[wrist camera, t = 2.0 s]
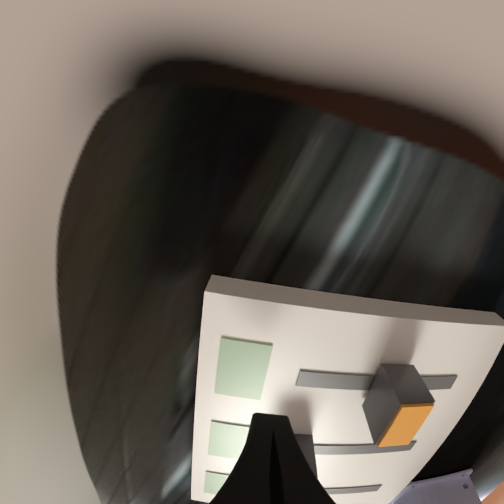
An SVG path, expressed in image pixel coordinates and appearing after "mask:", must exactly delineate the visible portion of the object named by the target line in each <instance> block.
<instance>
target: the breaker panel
mask: <svg viewBox="0 0 504 504" xmlns="http://www.w3.org/2000/svg"><path fill="white" fill-rule="evenodd" d="M503 343H504V320H503V319H502V318H501V317H500V316H498V315H497V314H496V313H495V312H487V311H477V310H467V309H457V308H448V307H439V306H430V305H422V304H413V303H405V302H397V301H389V300H381V299H373V298H365V297H358V296H350V295H343V294H336V293H329V292H321V291H314V290H307V289H301V288H294V287H287V286H280V285H274V284H267V283H261V282H254V281H248V280H242V279H235V278H229V277H223V276H217V275H211V278H210V280H209V282H208V284H207V287H206V289H205V291H204V300H203V311H202V321H201V333H200V344H199V357H198V370H197V383H196V398H195V415H194V433H193V455H192V483H191V500H196V501H202V502H208V503H210V502H211V500H212V499H213V498H214V496H215V495H216V494H217V492H218V491H219V490H220V488H221V487H222V486H223V484H224V483H225V481H226V479H227V478H228V476H229V475H230V473H231V471H232V470H233V468H234V466H235V464H236V462H237V460H238V458H239V457H240V455H241V453H242V450H243V448H244V445H245V443H246V439H247V435H248V431H249V427H250V423H251V419H252V415H253V414H254V413H256V412H257V413H265V414H275V415H286V416H288V418H289V420H290V423H291V426H292V429H293V432H294V434H295V437H296V439H297V441H298V444H299V446H300V448H301V450H302V452H303V454H304V456H305V458H306V460H307V462H308V464H309V465H310V467H311V469H312V471H313V472H314V474H315V476H316V477H317V479H318V480H319V482H320V483H321V485H322V486H323V487H324V489H325V490H326V492H327V493H328V494H329V495H330V497H331V498H332V499H333V500H334V502H335V503H336V504H389V503H390V502H391V501H392V500H393V499H394V498H395V497H396V496H397V495H398V494H399V493H400V492H401V491H402V490H403V489H404V488H405V487H406V486H407V485H408V484H409V483H410V482H411V480H412V479H413V478H414V477H415V476H416V475H417V474H418V473H419V471H420V470H421V469H422V468H423V467H424V466H425V464H426V463H427V462H428V461H429V460H430V458H431V457H432V456H433V455H434V453H435V452H436V451H437V450H438V448H439V447H440V446H441V444H442V443H443V442H444V440H445V439H446V438H447V436H448V435H449V434H450V432H451V431H452V430H453V428H454V427H455V425H456V424H457V422H458V421H459V419H460V418H461V417H462V415H463V414H464V412H465V411H466V409H467V407H468V406H469V404H470V403H471V401H472V400H473V398H474V396H475V395H476V393H477V391H478V390H479V388H480V386H481V385H482V383H483V381H484V379H485V378H486V376H487V374H488V372H489V370H490V369H491V367H492V365H493V363H494V361H495V359H496V357H497V355H498V353H499V351H500V349H501V347H502V345H503ZM381 364H408V365H414V366H415V368H416V369H417V371H418V373H419V374H420V376H421V378H422V379H423V381H424V383H425V384H426V386H427V388H428V389H429V391H430V393H431V395H432V396H433V398H434V400H435V403H434V407H433V409H432V410H431V412H430V413H429V415H428V417H427V418H426V420H425V421H424V423H423V424H422V426H421V427H420V429H419V430H418V432H417V433H416V435H415V436H414V438H413V439H412V440H411V442H410V443H409V445H399V446H387V447H378V446H377V445H374V443H373V439H372V436H371V433H370V430H369V426H368V423H367V420H366V417H365V414H364V411H363V408H362V404H363V402H364V400H365V398H366V396H367V394H368V392H369V390H370V388H371V386H372V383H373V381H374V379H375V377H376V375H377V372H378V370H379V368H380V366H381Z"/></svg>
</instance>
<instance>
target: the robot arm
mask: <svg viewBox="0 0 504 504" xmlns="http://www.w3.org/2000/svg"><path fill="white" fill-rule="evenodd" d="M471 473H472V469H468V470H464V471H460V472H456V473H452V474H448V475H444V476H440V477H435V478H431V479H426V480H420V481H415V482H410V483H409V484H408V485H407V486H406V487H405V488H404V489H403V490H402V491H401V492H400V493H399V494H398V495H397V496H396V497H395V498H394V499H393V500H392V501H391V502H390V503H389V504H481V501H480V499H479V497H478V494H477V492H476V490H475V488H474V485H473V483H472V481H471V479H470V477H469V475H470V474H471ZM209 504H336V503H335V502H334V500H333V499H332V498H331V497H330V495H329V494H328V493H327V492H326V490H325V489H324V487H323V486H322V485H321V483H320V482H319V480H318V479H317V477H316V476H315V474H314V472H313V471H312V469H311V467H310V465H309V464H308V462H307V460H306V458H305V456H304V454H303V452H302V450H301V448H300V446H299V444H298V441H297V439H296V437H295V434H294V432H293V429H292V426H291V423H290V420H289V418H288V416H286V415H275V414H265V413H257V412H256V413H254V414H253V415H252V419H251V423H250V427H249V431H248V435H247V439H246V443H245V445H244V448H243V450H242V453H241V455H240V457H239V458H238V460H237V462H236V464H235V466H234V468H233V470H232V471H231V473H230V475H229V476H228V478H227V479H226V481H225V483H224V484H223V486H222V487H221V488H220V490H219V491H218V492H217V494H216V495H215V496H214V498H213V499H212V500H211V502H210V503H209Z"/></svg>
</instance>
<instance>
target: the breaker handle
mask: <svg viewBox="0 0 504 504" xmlns="http://www.w3.org/2000/svg"><path fill="white" fill-rule="evenodd" d="M434 403H435V400H434V398H433V396H432V395H431V393H430V391H429V389H428V388H427V386H426V384H425V383H424V381H423V379H422V378H421V376H420V374H419V373H418V371H417V369H416V368H415V366H414V365H408V364H381V366H380V368H379V370H378V372H377V375H376V377H375V379H374V381H373V383H372V386H371V388H370V390H369V392H368V394H367V396H366V398H365V400H364V402H363V404H362V408H363V411H364V414H365V417H366V420H367V423H368V426H369V430H370V433H371V436H372V439H373V443H374V445H377V446H378V447H387V446H399V445H409V443H410V442H411V440H412V439H413V438H414V436H415V435H416V433H417V432H418V430H419V429H420V427H421V426H422V424H423V423H424V421H425V420H426V418H427V417H428V415H429V413H430V412H431V410H432V409H433V407H434Z"/></svg>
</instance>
